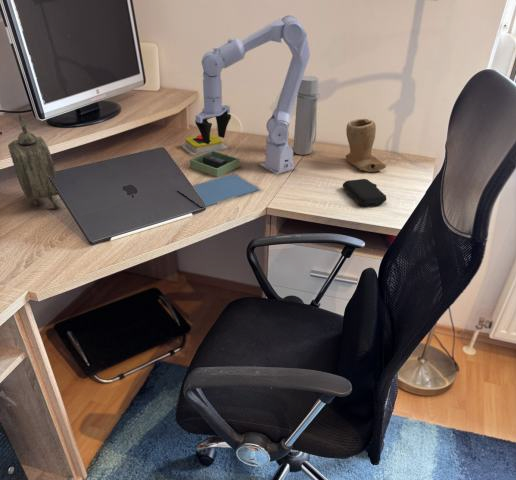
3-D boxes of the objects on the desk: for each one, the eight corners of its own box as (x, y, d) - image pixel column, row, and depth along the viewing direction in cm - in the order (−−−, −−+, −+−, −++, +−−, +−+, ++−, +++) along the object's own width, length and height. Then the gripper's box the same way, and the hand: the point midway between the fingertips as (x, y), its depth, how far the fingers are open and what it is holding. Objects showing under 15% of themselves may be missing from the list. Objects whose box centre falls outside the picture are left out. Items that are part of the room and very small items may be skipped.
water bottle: (287, 151, 184) (292, 77, 168) (302, 146, 189) (308, 73, 172) (305, 159, 180) (312, 83, 163) (320, 154, 184) (328, 79, 167)
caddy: (239, 167, 172) (239, 158, 170) (217, 178, 165) (217, 169, 163) (212, 158, 178) (212, 150, 176) (190, 168, 171) (189, 159, 169)
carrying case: (390, 204, 154) (369, 185, 165) (393, 195, 152) (370, 176, 163) (359, 208, 152) (339, 188, 162) (361, 199, 150) (341, 179, 160)
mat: (259, 190, 160) (259, 189, 159) (201, 208, 149) (201, 207, 149) (234, 175, 168) (234, 174, 167) (177, 191, 157) (177, 190, 157)
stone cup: (336, 159, 180) (341, 115, 170) (365, 155, 184) (372, 113, 174) (355, 176, 170) (362, 130, 160) (386, 172, 173) (395, 127, 163)
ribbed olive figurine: (65, 210, 146) (42, 121, 129) (33, 216, 142) (5, 126, 126) (53, 190, 155) (31, 105, 138) (23, 196, 152) (-4, 109, 135)
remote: (227, 168, 171) (226, 159, 169) (220, 171, 169) (220, 162, 167) (209, 162, 174) (209, 153, 172) (202, 165, 172) (202, 156, 170)
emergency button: (180, 135, 182) (217, 129, 188) (181, 147, 185) (217, 141, 191) (190, 143, 176) (228, 137, 182) (191, 156, 179) (228, 149, 185)
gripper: (218, 88, 162) (219, 131, 171) (187, 98, 154) (190, 143, 163) (234, 93, 159) (234, 136, 168) (204, 103, 151) (206, 148, 160)
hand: (214, 140), depth 165 cm, fingers open, 7 cm apart
